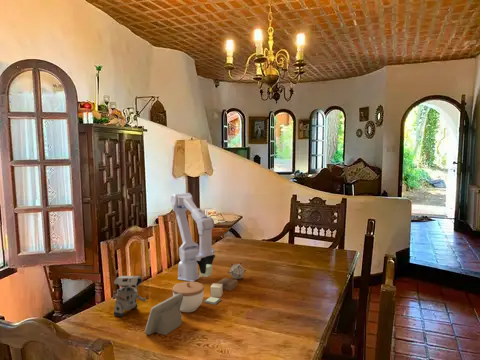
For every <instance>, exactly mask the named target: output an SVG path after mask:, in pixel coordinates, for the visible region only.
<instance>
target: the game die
mask: <svg viewBox="0 0 480 360" xmlns="http://www.w3.org/2000/svg"><path fill="white" fill-rule="evenodd" d="M246 271H247V270H246V269H245V268H244V267H243V266H242V263H241V262H240V263H235V264H233V263H231V268H230V270H229V271H228V272H227V274H229V275H230V276H231V278H232V279H234V280H239V279H241V280H244V278H243V276H244V274H245V272H246Z"/></svg>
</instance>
